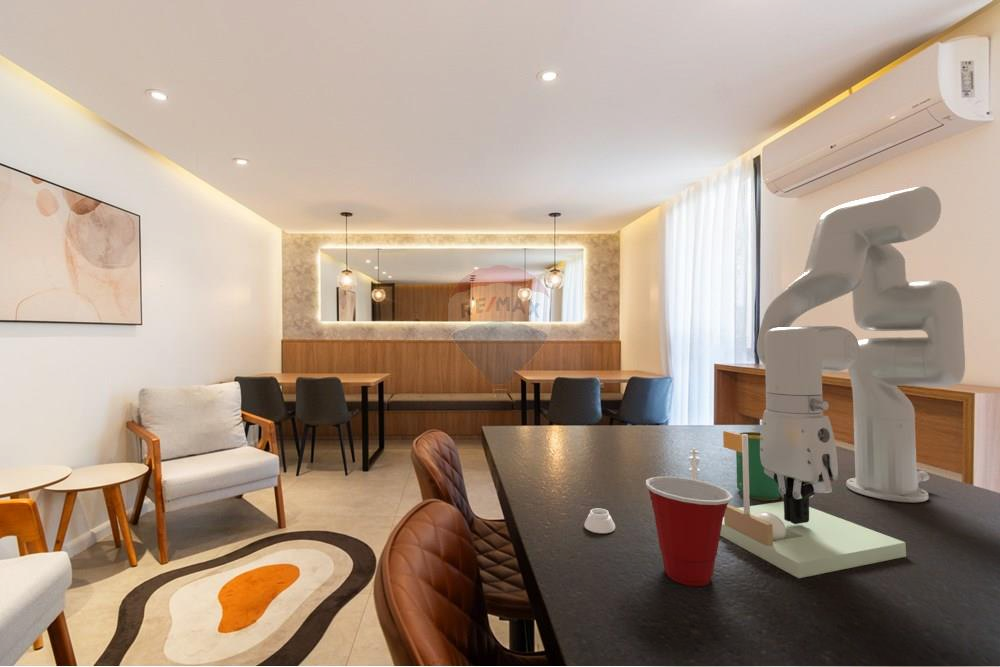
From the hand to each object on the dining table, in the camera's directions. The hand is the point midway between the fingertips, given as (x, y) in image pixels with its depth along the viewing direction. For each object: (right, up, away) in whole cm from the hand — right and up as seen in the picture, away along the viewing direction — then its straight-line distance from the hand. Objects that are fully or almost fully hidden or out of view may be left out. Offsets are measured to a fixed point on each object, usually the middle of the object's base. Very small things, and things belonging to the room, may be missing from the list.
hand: (796, 520), depth 70 cm
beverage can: (+6, -4, +20) cm, 22 cm away
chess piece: (-8, -4, +18) cm, 20 cm away
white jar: (-30, -4, +5) cm, 31 cm away
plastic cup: (-21, -3, -10) cm, 24 cm away
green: (0, -3, 0) cm, 3 cm away
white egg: (-6, 0, -2) cm, 6 cm away
